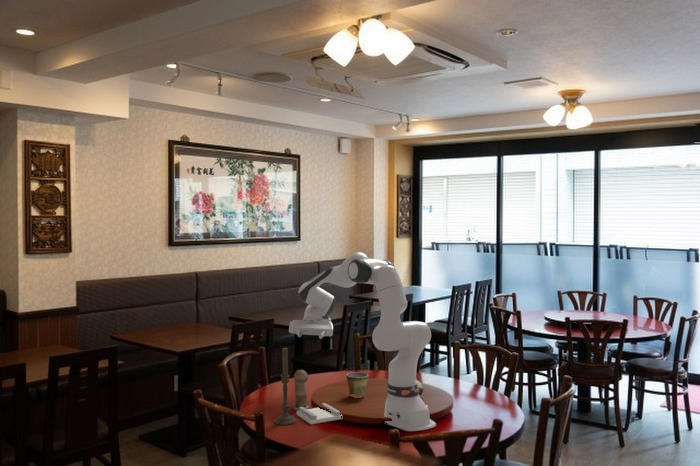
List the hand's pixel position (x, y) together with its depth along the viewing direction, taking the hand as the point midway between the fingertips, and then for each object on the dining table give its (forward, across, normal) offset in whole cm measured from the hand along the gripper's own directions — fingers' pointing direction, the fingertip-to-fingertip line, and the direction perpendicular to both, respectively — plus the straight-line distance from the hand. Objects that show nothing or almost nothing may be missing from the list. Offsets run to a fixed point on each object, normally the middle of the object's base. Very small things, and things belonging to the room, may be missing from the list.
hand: (310, 336), depth 271 cm
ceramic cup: (+2, +24, +28) cm, 36 cm away
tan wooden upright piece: (+20, -1, +24) cm, 31 cm away
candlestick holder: (+37, -6, +20) cm, 42 cm away
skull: (+3, +49, +25) cm, 55 cm away
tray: (+31, +7, +20) cm, 38 cm away
